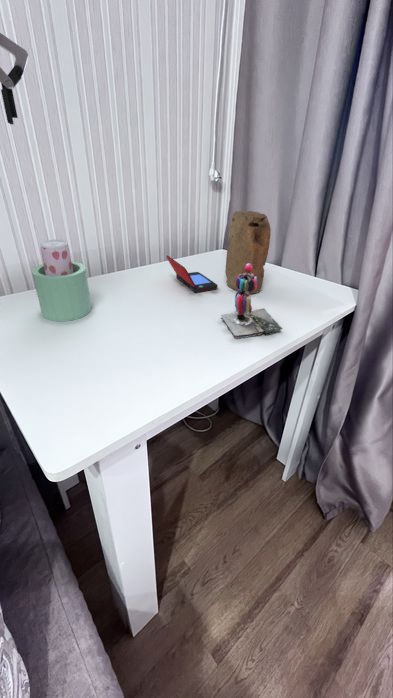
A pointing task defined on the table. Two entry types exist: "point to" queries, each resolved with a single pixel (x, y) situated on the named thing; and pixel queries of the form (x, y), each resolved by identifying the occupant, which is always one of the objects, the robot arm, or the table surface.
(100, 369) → the table surface
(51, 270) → the beverage can
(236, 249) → the block
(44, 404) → the table surface
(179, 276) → the handheld console
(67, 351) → the table surface
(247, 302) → the statue
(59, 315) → the jar
